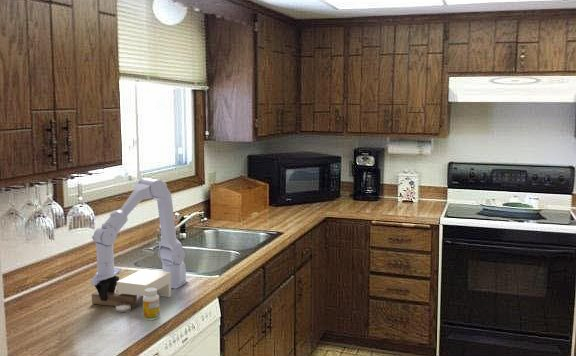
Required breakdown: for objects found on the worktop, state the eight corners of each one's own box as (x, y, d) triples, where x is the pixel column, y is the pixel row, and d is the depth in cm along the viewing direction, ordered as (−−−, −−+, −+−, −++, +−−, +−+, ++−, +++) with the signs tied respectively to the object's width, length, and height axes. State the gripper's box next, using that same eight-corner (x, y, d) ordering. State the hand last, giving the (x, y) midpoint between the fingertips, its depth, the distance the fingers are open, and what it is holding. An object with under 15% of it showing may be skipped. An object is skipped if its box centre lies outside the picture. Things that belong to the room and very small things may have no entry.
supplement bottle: (142, 315, 194) (141, 288, 193) (158, 313, 197) (157, 286, 195) (144, 321, 190) (143, 293, 188) (161, 319, 192) (160, 290, 190)
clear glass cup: (121, 307, 203) (120, 301, 203) (133, 308, 201) (133, 302, 201) (113, 312, 198) (112, 306, 198) (125, 313, 197) (125, 307, 196)
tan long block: (96, 300, 208) (96, 291, 208) (137, 304, 205) (136, 294, 204) (92, 303, 205) (91, 294, 205) (133, 307, 202) (132, 297, 201)
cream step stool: (142, 292, 218) (141, 268, 217) (171, 295, 214) (170, 272, 213) (116, 306, 203) (115, 281, 202) (147, 310, 199) (146, 285, 198)
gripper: (108, 255, 212) (110, 291, 213) (82, 266, 198) (84, 304, 200) (125, 257, 209) (126, 293, 211) (99, 268, 196) (101, 306, 198)
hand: (107, 298), depth 205 cm, fingers closed on tan long block, 3 cm apart
